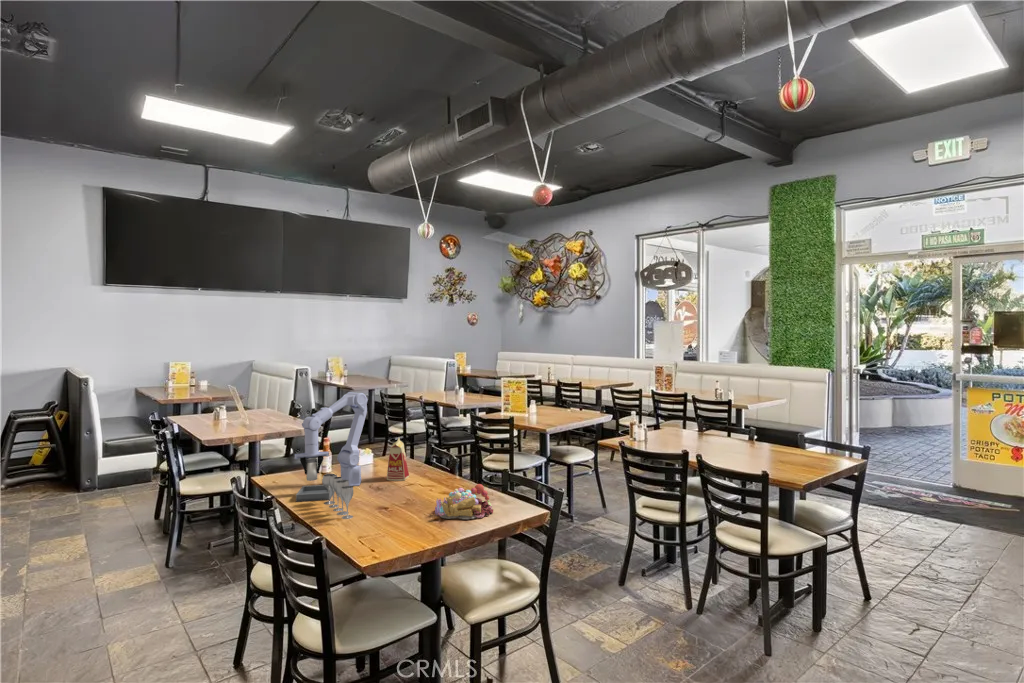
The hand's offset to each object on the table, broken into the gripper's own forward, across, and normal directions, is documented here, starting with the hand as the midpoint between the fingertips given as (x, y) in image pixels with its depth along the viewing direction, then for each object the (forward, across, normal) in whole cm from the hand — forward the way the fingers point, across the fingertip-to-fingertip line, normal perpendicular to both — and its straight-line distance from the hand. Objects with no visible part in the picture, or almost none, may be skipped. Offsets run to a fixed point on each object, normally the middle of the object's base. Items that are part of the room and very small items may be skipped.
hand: (311, 473), depth 246 cm
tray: (+9, -2, +5) cm, 10 cm away
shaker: (+3, 0, 0) cm, 3 cm away
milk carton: (+9, -40, -11) cm, 43 cm away
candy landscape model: (+10, -57, +49) cm, 76 cm away
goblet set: (+10, -9, +28) cm, 31 cm away
